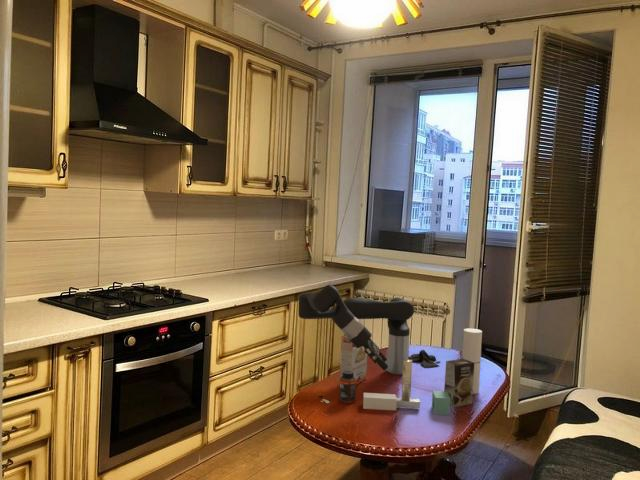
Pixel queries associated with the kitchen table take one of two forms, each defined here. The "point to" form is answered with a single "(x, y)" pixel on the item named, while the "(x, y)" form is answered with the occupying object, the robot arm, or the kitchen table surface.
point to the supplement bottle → (347, 387)
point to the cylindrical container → (473, 353)
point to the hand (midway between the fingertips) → (385, 364)
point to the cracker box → (353, 360)
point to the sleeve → (379, 401)
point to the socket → (441, 402)
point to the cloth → (424, 359)
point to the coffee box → (459, 381)
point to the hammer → (407, 388)
